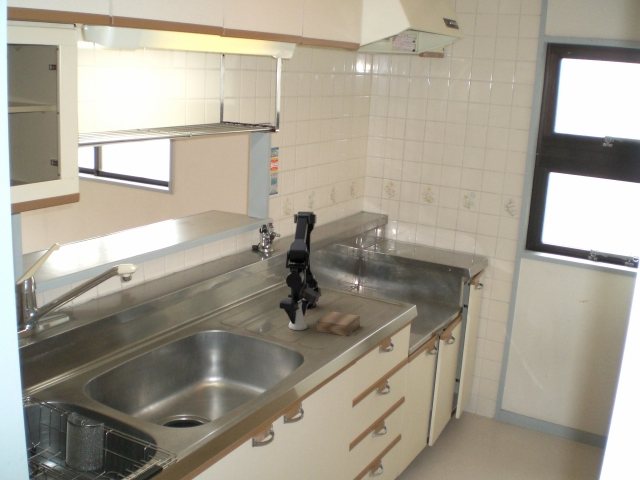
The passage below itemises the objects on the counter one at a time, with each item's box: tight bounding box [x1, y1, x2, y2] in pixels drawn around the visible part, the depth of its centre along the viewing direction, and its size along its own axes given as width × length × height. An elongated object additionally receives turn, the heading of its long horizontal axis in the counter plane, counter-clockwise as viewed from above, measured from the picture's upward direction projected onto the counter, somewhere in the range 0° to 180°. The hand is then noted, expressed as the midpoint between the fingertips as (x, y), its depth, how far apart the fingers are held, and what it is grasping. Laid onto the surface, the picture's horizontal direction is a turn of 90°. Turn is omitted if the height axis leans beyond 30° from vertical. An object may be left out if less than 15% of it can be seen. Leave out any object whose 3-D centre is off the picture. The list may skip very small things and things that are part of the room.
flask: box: [288, 301, 309, 331], centre depth 259 cm, size 7×7×10 cm
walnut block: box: [316, 311, 361, 337], centre depth 259 cm, size 12×12×4 cm
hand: (298, 320), depth 260 cm, fingers open, 7 cm apart
